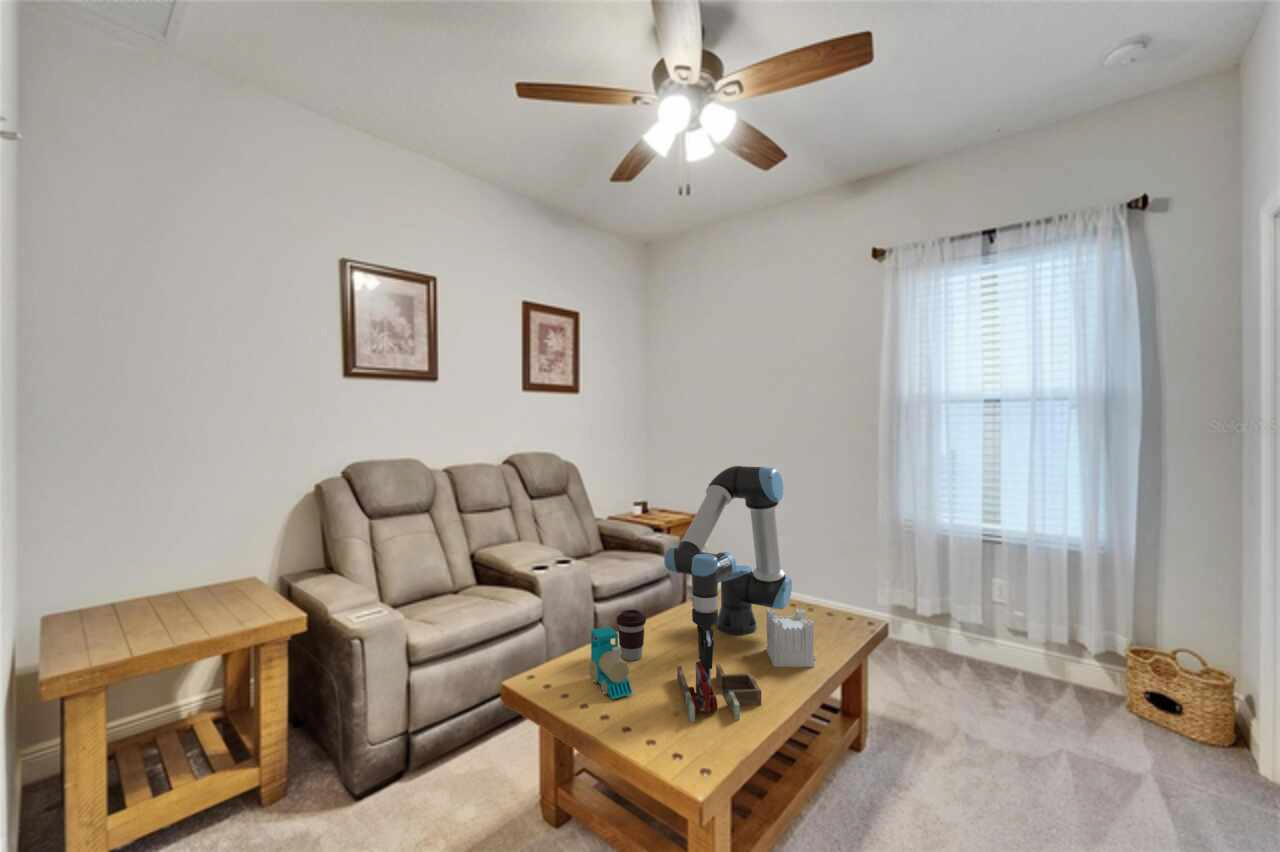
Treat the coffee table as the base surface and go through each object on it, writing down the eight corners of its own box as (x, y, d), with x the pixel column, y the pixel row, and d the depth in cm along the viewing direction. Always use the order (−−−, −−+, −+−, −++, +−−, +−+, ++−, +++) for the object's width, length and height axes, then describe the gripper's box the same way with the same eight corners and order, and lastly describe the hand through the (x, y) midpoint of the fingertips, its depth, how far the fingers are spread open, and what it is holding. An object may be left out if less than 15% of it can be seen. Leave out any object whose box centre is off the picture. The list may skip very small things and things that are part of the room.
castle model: (766, 649, 189) (766, 608, 189) (809, 650, 189) (809, 609, 188) (774, 666, 176) (774, 623, 176) (820, 667, 176) (820, 623, 176)
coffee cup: (652, 656, 185) (651, 612, 184) (631, 666, 177) (631, 620, 177) (631, 647, 191) (630, 605, 191) (610, 657, 184) (610, 613, 184)
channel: (677, 678, 168) (677, 666, 168) (719, 677, 169) (719, 664, 169) (690, 722, 144) (690, 707, 144) (739, 719, 145) (739, 704, 145)
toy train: (610, 702, 155) (609, 650, 154) (589, 678, 170) (588, 630, 169) (634, 696, 158) (634, 645, 158) (612, 672, 173) (611, 626, 173)
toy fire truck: (694, 719, 146) (693, 681, 146) (686, 695, 158) (685, 660, 158) (719, 717, 146) (718, 679, 146) (710, 694, 159) (709, 659, 158)
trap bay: (721, 688, 163) (720, 674, 162) (751, 686, 163) (751, 673, 163) (729, 706, 152) (729, 692, 152) (761, 704, 153) (761, 690, 153)
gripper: (688, 601, 164) (689, 678, 165) (696, 617, 151) (696, 700, 152) (713, 600, 165) (713, 677, 165) (722, 616, 152) (723, 699, 152)
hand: (705, 688), depth 159 cm, fingers closed
